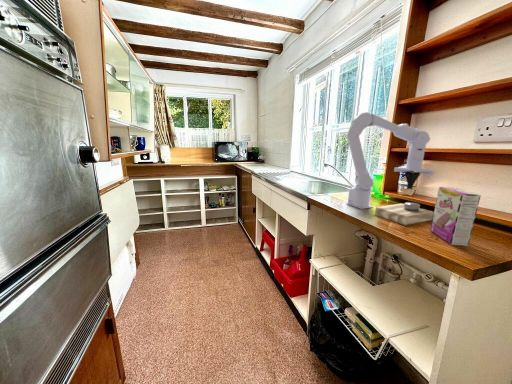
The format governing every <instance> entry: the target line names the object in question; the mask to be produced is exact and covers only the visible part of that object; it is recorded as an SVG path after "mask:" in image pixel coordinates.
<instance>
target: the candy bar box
mask: <svg viewBox="0 0 512 384" xmlns="http://www.w3.org/2000/svg"><path fill="white" fill-rule="evenodd" d="M481 197H482V195H481V194H479V193H474V192H473V191H472V192H471V191H468V190H464V189H462V188H458V187H454V186H452V187H451V186H439V187H438V190H437V197H436V200H435V201H436V202H435V206H434V211H433V217H432V220H431V221H432V222H431V226H430V230H429V232H431V233H433V234H434V235H435V236H437V237H438V238H440V239H442V240H443V241H445V242H446V243H447V244H449V245H450V246H455V247H456V246H457V247H469V244H470V240H471V235H472V231H473V229H474V228H473V227H474V225H475V220H476V216H477V211H478V209H479V204H480V200H481Z"/></svg>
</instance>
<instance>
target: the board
mask: <svg viewBox="0 0 512 384" xmlns="http://www.w3.org/2000/svg"><path fill="white" fill-rule="evenodd" d="M404 204H405V203H396V204H395V203H394V204H389V205H381V206H375V213H374V215H375V216H377V217H379V218H383V219H386V220H388V221H393V222H395V223H397V224H401V225H404V226H408V225H412V224H418V223H423V222H427V221H432V220H433V215H434V211H432V210H428V209H425V208H419V211H418V212H413V211H407V210H405V209H404Z"/></svg>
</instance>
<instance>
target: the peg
mask: <svg viewBox="0 0 512 384" xmlns="http://www.w3.org/2000/svg"><path fill="white" fill-rule="evenodd" d="M403 204H404V209H405V210H407V211H413V212H418V211H419V208H420V207H421V204H419V203H416V202H410V201H406V202H404V203H403Z"/></svg>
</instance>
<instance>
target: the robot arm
mask: <svg viewBox="0 0 512 384" xmlns="http://www.w3.org/2000/svg"><path fill="white" fill-rule="evenodd" d="M375 126H376V127H379V128H380V129H384V130H387V131H390V132H391V133H392V134H393V136H394V137H396V138H398V139H401V140H404V141H406V142H408V143H409V147H408V148H409V149H408V153H407V154H408V155H407V161H406V166H405V167H396V166H395V167H394V169H393V172H398V173H404V176H405V179H406V183H407V189H410V190H412V189H413V187H414V184H415V183H416V181H417V179H418V178H419V177H420V175H421V174H422V175H432V176H433V175H434V172H435V170H434V169H425V168H423V163H424V162H423V161H424V158H425V152H426V145H427V144H428V143H429V142H430V141H431V137H430V134H429V133H428V132H427V131H425V130H421V131H420V129H419V128H418V127H417V128H414V127H413V126H412V127H411V126H409V123H401V124H397V123H395V122H392V121H389V120H387V119H386V118H383V117H381V116H379V115H377V114H375V113H369V112H368V111H364V112H361V113H359V114H358V115H356V116H355V117H354V118H353V119H352V121H351V122H350V126H349V127H348V131H347V134H346V138H347V142H348V146H349V149H350V154H351V157H352V163H353V166H354V169H355V170H354V171H355V174H354V175H355V179H354V182H355V186H354V187H350V189H349V191H348V198H347V202H346V204H347V205H349V206H352V207H353V208H354V207H355V208H358V209H360V210H361V209H362V210H365V209H370V208H374V206H373V205H370V200H371V199H370V198H371V194H372V187H373V186H374V180H373V178H372V177H371V176H370V173H369V171H368V168H367V164H366V159H365V156H364V152H363V147H362V143H361V139H360V135H361V134H362V133H363V131H364V130H365V129H366V128H368V127H375Z"/></svg>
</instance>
